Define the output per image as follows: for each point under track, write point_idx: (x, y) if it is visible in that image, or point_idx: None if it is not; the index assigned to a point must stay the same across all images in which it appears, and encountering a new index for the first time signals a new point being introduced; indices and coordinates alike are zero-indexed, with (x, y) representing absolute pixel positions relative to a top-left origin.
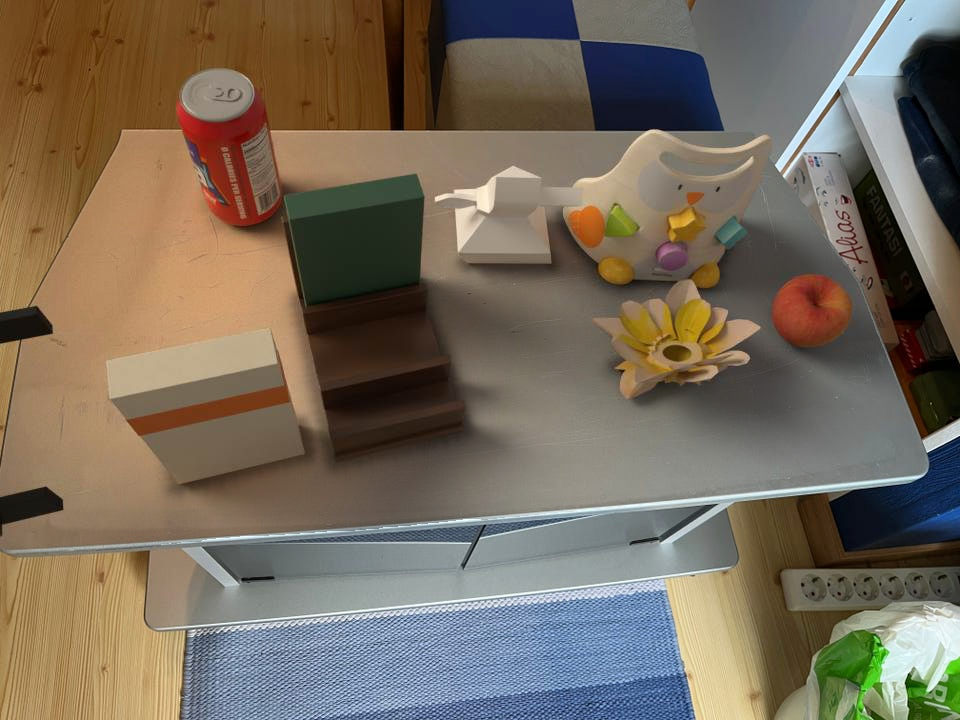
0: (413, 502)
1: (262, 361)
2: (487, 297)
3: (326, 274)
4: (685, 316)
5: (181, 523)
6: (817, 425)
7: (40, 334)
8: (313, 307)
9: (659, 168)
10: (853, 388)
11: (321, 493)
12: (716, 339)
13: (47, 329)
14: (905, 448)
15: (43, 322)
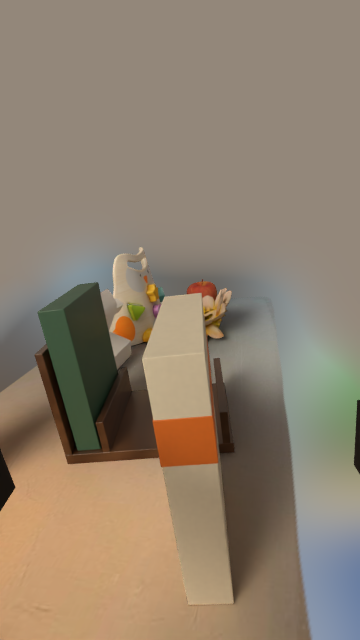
0: (274, 414)
1: (196, 296)
2: (136, 375)
3: (91, 376)
4: None
5: (290, 607)
6: (248, 308)
7: (3, 498)
8: (101, 415)
9: (130, 270)
10: (233, 302)
11: (262, 464)
12: (205, 309)
13: (8, 476)
14: (261, 297)
15: (1, 455)
